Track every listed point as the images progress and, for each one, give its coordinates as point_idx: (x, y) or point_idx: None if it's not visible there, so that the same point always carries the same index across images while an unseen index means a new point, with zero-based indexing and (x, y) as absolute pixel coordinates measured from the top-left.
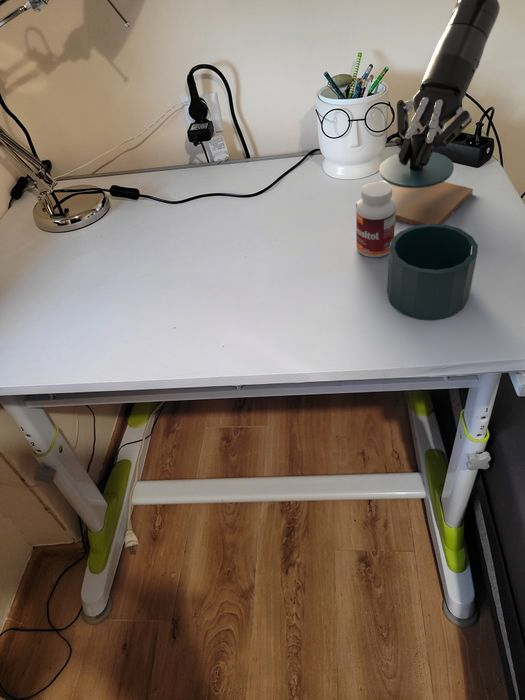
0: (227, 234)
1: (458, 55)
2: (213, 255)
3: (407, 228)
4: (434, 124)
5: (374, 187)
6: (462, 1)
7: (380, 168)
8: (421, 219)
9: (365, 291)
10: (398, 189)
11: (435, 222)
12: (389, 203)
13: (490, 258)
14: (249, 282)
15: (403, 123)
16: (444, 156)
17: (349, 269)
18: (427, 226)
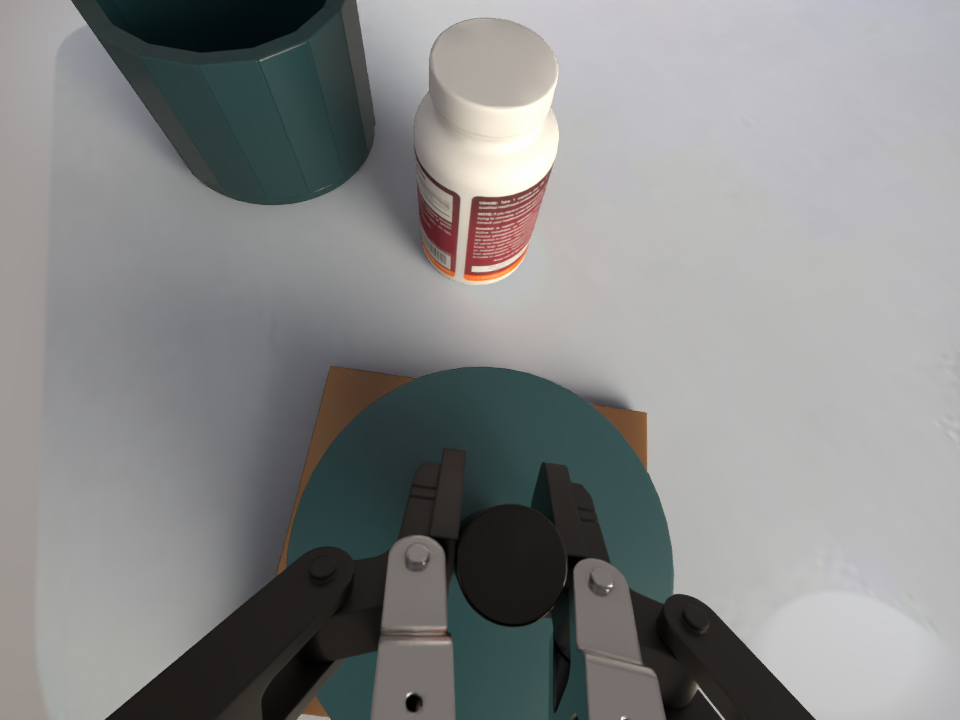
0: (863, 182)
1: None
2: (816, 110)
3: (321, 26)
4: (401, 653)
5: (508, 68)
6: None
7: (645, 476)
8: (386, 389)
9: (420, 101)
10: None
11: (334, 387)
12: (433, 105)
13: (135, 298)
14: (671, 62)
15: (720, 679)
16: None
17: None
18: (258, 47)
